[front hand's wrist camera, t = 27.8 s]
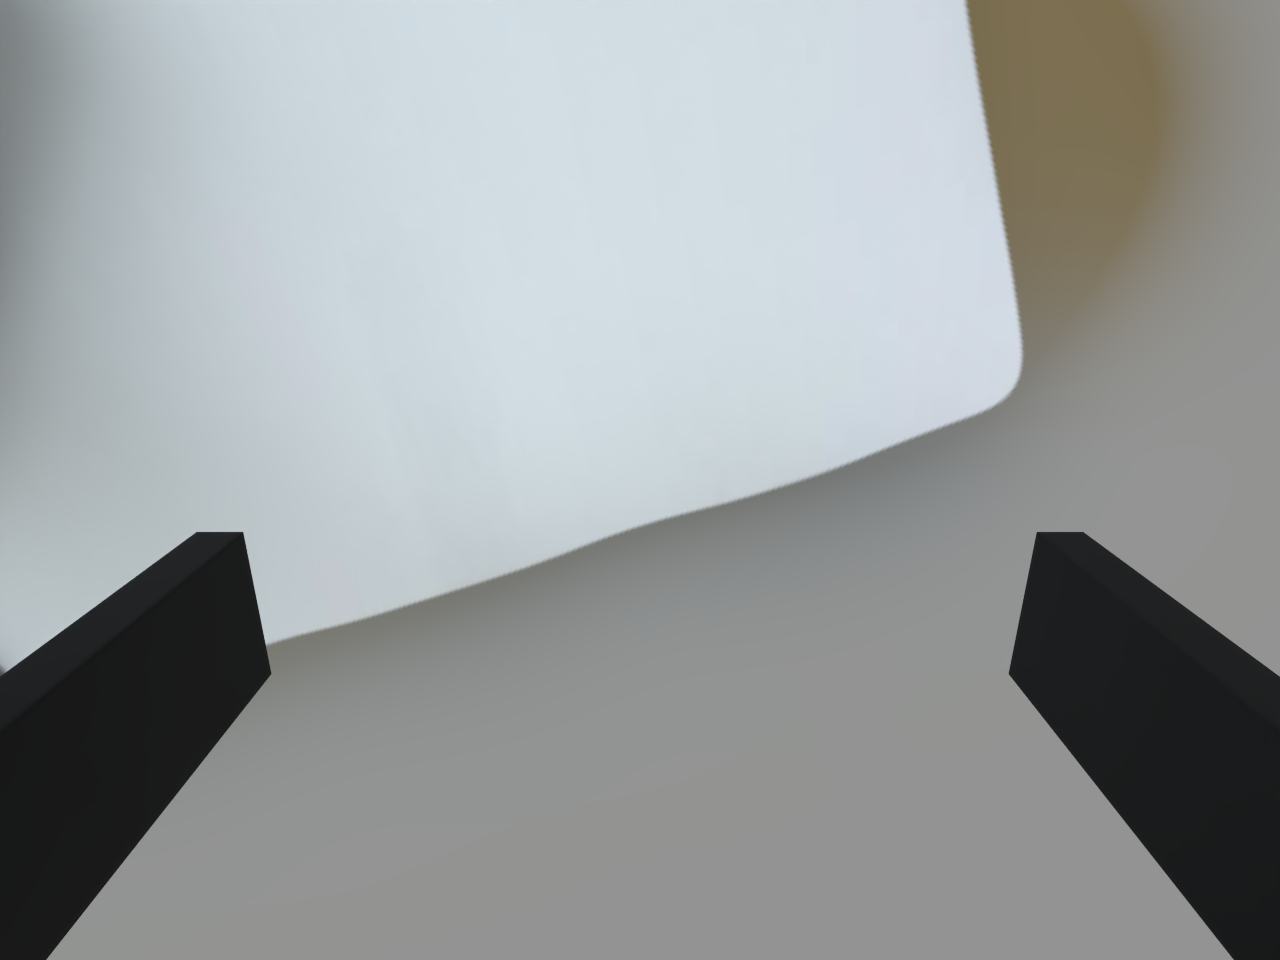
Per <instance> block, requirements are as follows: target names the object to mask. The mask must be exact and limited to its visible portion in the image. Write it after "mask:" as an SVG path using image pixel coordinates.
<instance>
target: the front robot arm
mask: <svg viewBox="0 0 1280 960" xmlns="http://www.w3.org/2000/svg"><path fill="white" fill-rule="evenodd" d="M270 675H271V670H270V665H269V660H268V655H267V650H266V645H265V640H264V635H263V630H262V625H261V620H260V614H259V609H258V604H257V599H256V594H255V589H254V584H253V579H252V574H251V569H250V564H249V559H248V554H247V549H246V544H245V539H244V534H243V532H196V533H195V534H194V535H192V536H191V537H189V538H188V539H187V540H185V541H184V542H183V543H181V544H180V545H179V546H177V547H176V548H175V549H173V550H172V551H170V552H169V553H168V554H166V555H165V556H164V557H162V558H161V559H160V560H158V561H157V562H155V563H154V564H153V565H151V566H150V567H149V568H147V569H146V570H145V571H143V572H142V573H141V574H139V575H138V576H136V577H135V578H134V579H132V580H131V581H130V582H128V583H127V584H126V585H124V586H123V587H122V588H120V589H119V590H117V591H116V592H115V593H113V594H112V595H111V596H109V597H108V598H107V599H105V600H104V601H103V602H101V603H100V604H98V605H97V606H96V607H94V608H93V609H92V610H90V611H89V612H88V613H86V614H85V615H83V616H82V617H81V618H79V619H78V620H77V621H75V622H74V623H73V624H71V625H70V626H69V627H67V628H66V629H64V630H63V631H62V632H60V633H59V634H58V635H56V636H55V637H54V638H52V639H51V640H50V641H48V642H47V643H45V644H44V645H43V646H41V647H40V648H39V649H37V650H36V651H35V652H33V653H32V654H30V655H29V656H28V657H26V658H25V659H24V660H22V661H21V662H20V663H18V664H17V665H16V666H14V667H13V668H11V669H10V670H9V671H7V672H6V673H5V674H3V675H2V676H1V677H0V960H46V959H47V958H48V957H49V955H50V954H51V953H52V952H53V950H54V949H55V948H56V947H57V945H58V944H59V943H60V941H61V940H62V939H63V938H64V936H65V935H66V934H67V933H68V931H69V930H70V929H71V927H72V926H73V925H74V924H75V922H76V921H77V920H78V919H79V917H80V916H81V915H82V913H83V912H84V911H85V910H86V908H87V907H88V906H89V905H90V903H91V902H92V901H93V899H94V898H95V897H96V896H97V894H98V893H99V892H100V891H101V889H102V888H103V887H104V885H105V884H106V883H107V882H108V881H109V879H110V878H111V877H112V875H113V874H114V873H115V872H116V870H117V869H118V868H119V867H120V865H121V864H122V863H123V861H124V860H125V859H126V858H127V856H128V855H129V854H130V853H131V851H132V850H133V849H134V848H135V846H136V845H137V844H138V842H139V841H140V840H141V839H142V837H143V836H144V835H145V834H146V832H147V831H148V830H149V828H150V827H151V826H152V825H153V823H154V822H155V821H156V820H157V818H158V817H159V816H160V815H161V813H162V812H163V811H164V809H165V808H166V807H167V806H168V804H169V803H170V802H171V801H172V799H173V798H174V797H175V795H176V794H177V793H178V792H179V790H180V789H181V788H182V787H183V785H184V784H185V783H186V782H187V780H188V779H189V778H190V776H191V775H192V774H193V773H194V771H195V770H196V769H197V768H198V766H199V765H200V764H201V762H202V761H203V760H204V759H205V757H206V756H207V755H208V753H209V752H210V751H211V750H212V749H213V747H214V746H215V745H216V743H217V742H218V741H219V740H220V738H221V737H222V736H223V735H224V733H225V732H226V731H227V729H228V728H229V727H230V726H231V724H232V723H233V722H234V721H235V719H236V718H237V717H238V715H239V714H240V713H241V712H242V710H243V709H244V708H245V707H246V705H247V704H248V703H249V702H250V700H251V699H252V698H253V696H254V695H255V694H256V693H257V691H258V690H259V689H260V688H261V686H262V685H263V684H264V682H265V681H266V680H267V679H268V677H269V676H270ZM1009 675H1010V676H1011V677H1012V679H1013V680H1014V681H1015V682H1016V684H1017V685H1018V686H1019V688H1020V689H1021V690H1022V691H1023V693H1024V694H1025V695H1026V696H1027V698H1028V699H1029V700H1030V702H1031V703H1032V704H1033V705H1034V707H1035V708H1036V709H1037V710H1038V712H1039V713H1040V714H1041V715H1042V717H1043V718H1044V719H1045V721H1046V722H1047V723H1048V724H1049V726H1050V727H1051V728H1052V729H1053V731H1054V732H1055V733H1056V735H1057V736H1058V737H1059V738H1060V740H1061V741H1062V742H1063V743H1064V745H1065V746H1066V747H1067V749H1068V750H1069V751H1070V752H1071V754H1072V755H1073V756H1074V757H1075V759H1076V760H1077V761H1078V762H1079V764H1080V765H1081V766H1082V768H1083V769H1084V770H1085V771H1086V773H1087V774H1088V775H1089V776H1090V778H1091V779H1092V780H1093V781H1094V783H1095V784H1096V785H1097V786H1098V788H1099V789H1100V790H1101V792H1102V793H1103V794H1104V795H1105V797H1106V798H1107V799H1108V800H1109V802H1110V803H1111V804H1112V806H1113V807H1114V808H1115V809H1116V811H1117V812H1118V813H1119V814H1120V816H1121V817H1122V818H1123V820H1124V821H1125V822H1126V823H1127V825H1128V826H1129V827H1130V828H1131V830H1132V831H1133V832H1134V834H1135V835H1136V836H1137V837H1138V839H1139V840H1140V841H1141V842H1142V844H1143V845H1144V846H1145V848H1146V849H1147V850H1148V851H1149V852H1150V854H1151V855H1152V856H1153V858H1154V859H1155V860H1156V861H1157V863H1158V864H1159V865H1160V867H1161V868H1162V869H1163V870H1164V872H1165V873H1166V874H1167V875H1168V877H1169V878H1170V879H1171V880H1172V882H1173V883H1174V884H1175V886H1176V887H1177V888H1178V889H1179V891H1180V892H1181V893H1182V894H1183V896H1184V897H1185V898H1186V899H1187V901H1188V902H1189V903H1190V905H1191V906H1192V907H1193V908H1194V910H1195V911H1196V912H1197V913H1198V915H1199V916H1200V917H1201V919H1202V920H1203V921H1204V922H1205V924H1206V925H1207V926H1208V927H1209V929H1210V930H1211V931H1212V933H1213V934H1214V935H1215V936H1216V938H1217V939H1218V940H1219V941H1220V943H1221V944H1222V945H1223V947H1224V948H1225V949H1226V950H1227V952H1228V953H1229V954H1230V955H1231V957H1232V958H1233V959H1234V960H1280V677H1279V676H1278V675H1277V674H1275V673H1274V672H1273V671H1271V670H1270V669H1269V668H1267V667H1266V666H1264V665H1263V664H1262V663H1260V662H1259V661H1258V660H1256V659H1255V658H1254V657H1252V656H1251V655H1250V654H1248V653H1247V652H1245V651H1244V650H1243V649H1241V648H1240V647H1239V646H1237V645H1236V644H1234V643H1233V642H1232V641H1230V640H1229V639H1228V638H1226V637H1225V636H1224V635H1222V634H1221V633H1220V632H1218V631H1217V630H1215V629H1214V628H1213V627H1211V626H1210V625H1209V624H1207V623H1206V622H1205V621H1203V620H1202V619H1201V618H1199V617H1198V616H1197V615H1195V614H1194V613H1192V612H1191V611H1190V610H1188V609H1187V608H1186V607H1184V606H1183V605H1182V604H1180V603H1179V602H1177V601H1176V600H1175V599H1173V598H1172V597H1171V596H1169V595H1168V594H1167V593H1165V592H1164V591H1163V590H1161V589H1160V588H1158V587H1157V586H1156V585H1154V584H1153V583H1152V582H1150V581H1149V580H1148V579H1146V578H1145V577H1144V576H1142V575H1141V574H1139V573H1138V572H1137V571H1135V570H1134V569H1133V568H1131V567H1130V566H1129V565H1127V564H1126V563H1124V562H1123V561H1122V560H1120V559H1119V558H1118V557H1116V556H1115V555H1114V554H1112V553H1111V552H1110V551H1108V550H1107V549H1105V548H1104V547H1103V546H1101V545H1100V544H1099V543H1097V542H1096V541H1095V540H1093V539H1092V538H1090V537H1089V536H1088V535H1086V534H1085V533H1084V532H1037V534H1036V539H1035V544H1034V549H1033V554H1032V559H1031V564H1030V569H1029V574H1028V579H1027V584H1026V589H1025V594H1024V599H1023V605H1022V610H1021V615H1020V620H1019V625H1018V630H1017V635H1016V640H1015V645H1014V650H1013V655H1012V660H1011V665H1010V670H1009Z"/></svg>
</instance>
